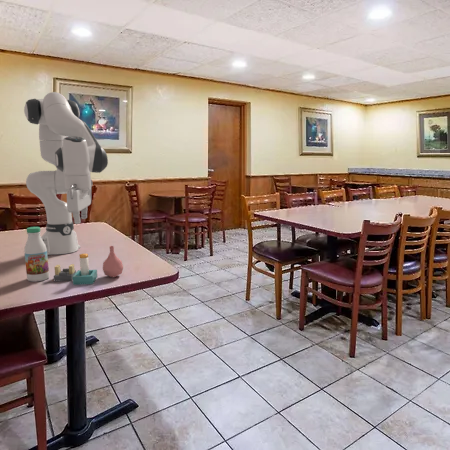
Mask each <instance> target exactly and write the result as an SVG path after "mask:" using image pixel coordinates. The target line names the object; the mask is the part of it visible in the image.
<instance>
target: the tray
mask: <svg viewBox="0 0 450 450" xmlns="http://www.w3.org/2000/svg"><path fill="white" fill-rule="evenodd" d="M97 278H98V269H89V275H88V276H81V270H80V269H79V270H76V273H75V275H74V276H73V280H72V284H73V285H72V286H75V285H76V286H77V285H93V284H94V283H95V281H96V280H97Z"/></svg>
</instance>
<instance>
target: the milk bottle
mask: <svg viewBox="0 0 450 450" xmlns="http://www.w3.org/2000/svg"><path fill="white" fill-rule="evenodd" d="M26 234H27V240H26V243H25V244H24V245H25V246H24V251H23V252H24V260H25V261H24V263H25V273H26V280H27V281H28V282H42V281H46V280H47V279H49V278H50V268H49V259H48V255H47V249H46V245H45V243H44V242H43V240H42V238H41V237H42V235H41V227H40V226H30V227H27V228H26Z"/></svg>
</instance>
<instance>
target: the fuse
mask: <svg viewBox="0 0 450 450" xmlns="http://www.w3.org/2000/svg"><path fill="white" fill-rule="evenodd" d="M78 257H79V267H80V269H79V270H81V276H88V275H89V270H90V265H89V262H90V261H89V254H88V253H86V252H85V253H80V254H79V256H78Z"/></svg>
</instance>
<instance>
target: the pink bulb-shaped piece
mask: <svg viewBox="0 0 450 450" xmlns="http://www.w3.org/2000/svg"><path fill="white" fill-rule="evenodd" d="M108 253H109V254H108V256H107V258H106V259H105V260H104V261H103V263H102V271H103V273H104V276H108V277H110V278H116V277H117V276H119V275H121V274H122V273H123V270H124V265H123V262H122V260H121V259H120V258H119V257H118V256H117V254H116V253H115V247H114V245H110V246H109V252H108Z"/></svg>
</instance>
